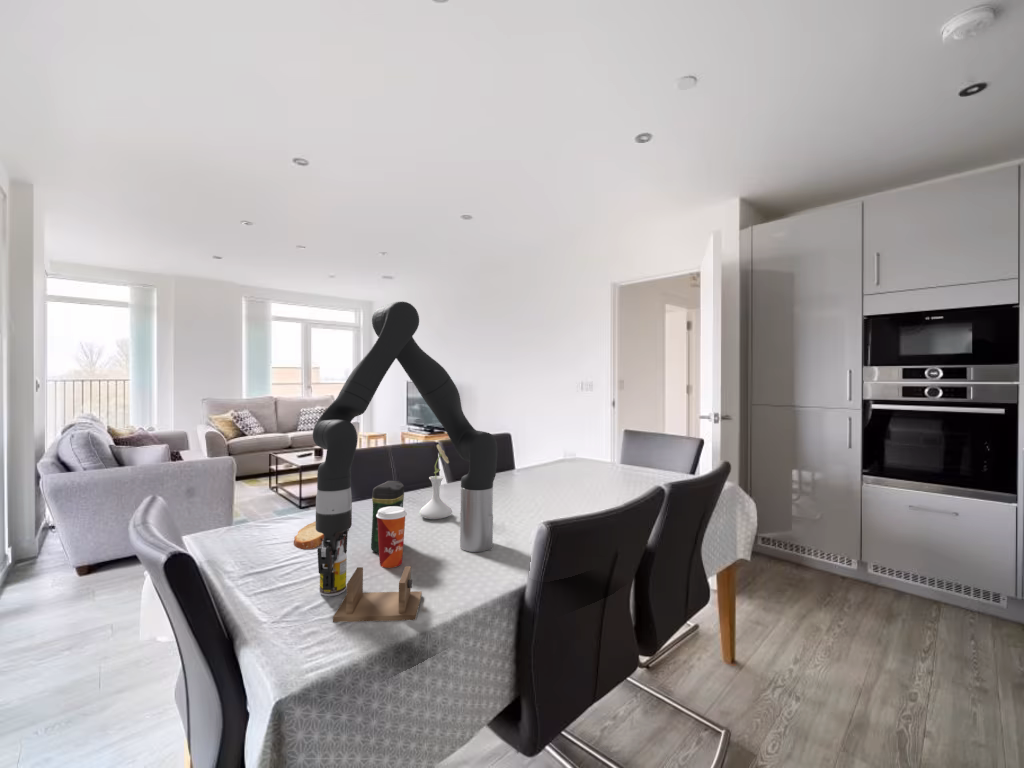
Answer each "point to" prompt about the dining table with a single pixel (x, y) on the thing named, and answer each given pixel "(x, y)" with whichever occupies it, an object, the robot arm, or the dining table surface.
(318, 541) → the slice of bread
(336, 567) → the supplement bottle
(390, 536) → the paper cup
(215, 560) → the dining table surface
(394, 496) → the coffee jar
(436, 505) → the flower in vase
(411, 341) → the robot arm
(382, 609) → the holder
